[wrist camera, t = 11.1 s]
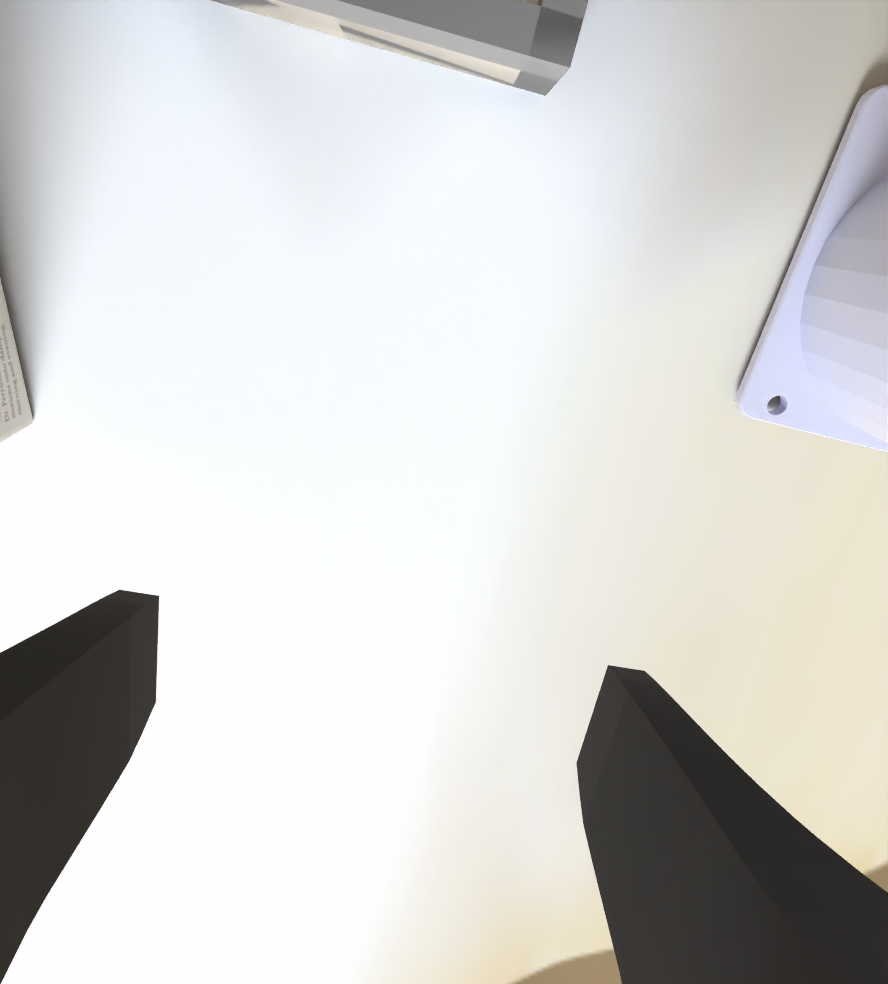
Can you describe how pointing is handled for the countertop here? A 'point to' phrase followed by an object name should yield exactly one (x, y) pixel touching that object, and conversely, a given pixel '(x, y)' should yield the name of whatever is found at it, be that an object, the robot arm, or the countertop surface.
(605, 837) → the robot arm
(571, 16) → the tray
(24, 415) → the skincare box
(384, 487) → the countertop surface
